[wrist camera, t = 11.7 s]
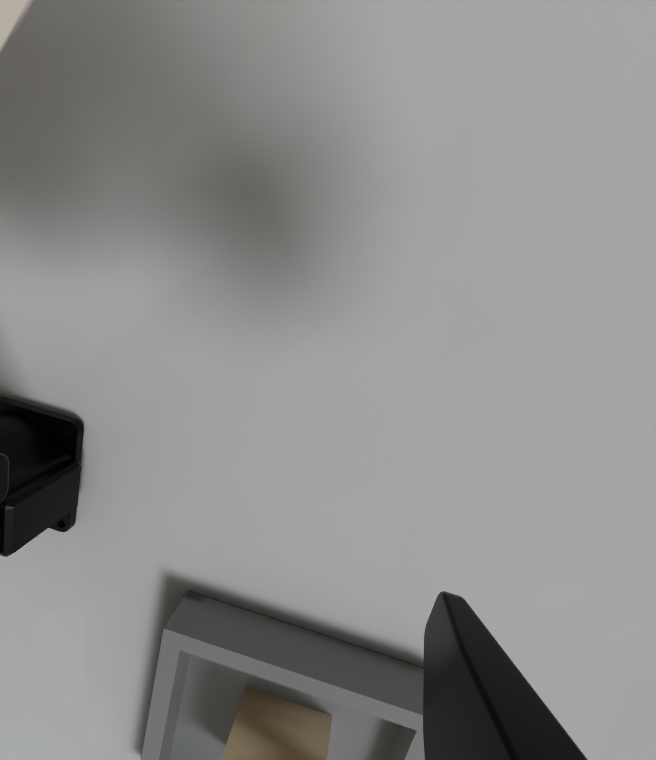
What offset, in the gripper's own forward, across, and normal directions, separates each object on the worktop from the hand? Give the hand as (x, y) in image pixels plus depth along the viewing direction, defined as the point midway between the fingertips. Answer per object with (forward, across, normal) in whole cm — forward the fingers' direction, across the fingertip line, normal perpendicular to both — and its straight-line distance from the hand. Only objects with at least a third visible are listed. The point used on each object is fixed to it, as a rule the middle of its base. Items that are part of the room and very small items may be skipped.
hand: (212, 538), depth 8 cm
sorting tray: (+11, -3, +20) cm, 23 cm away
